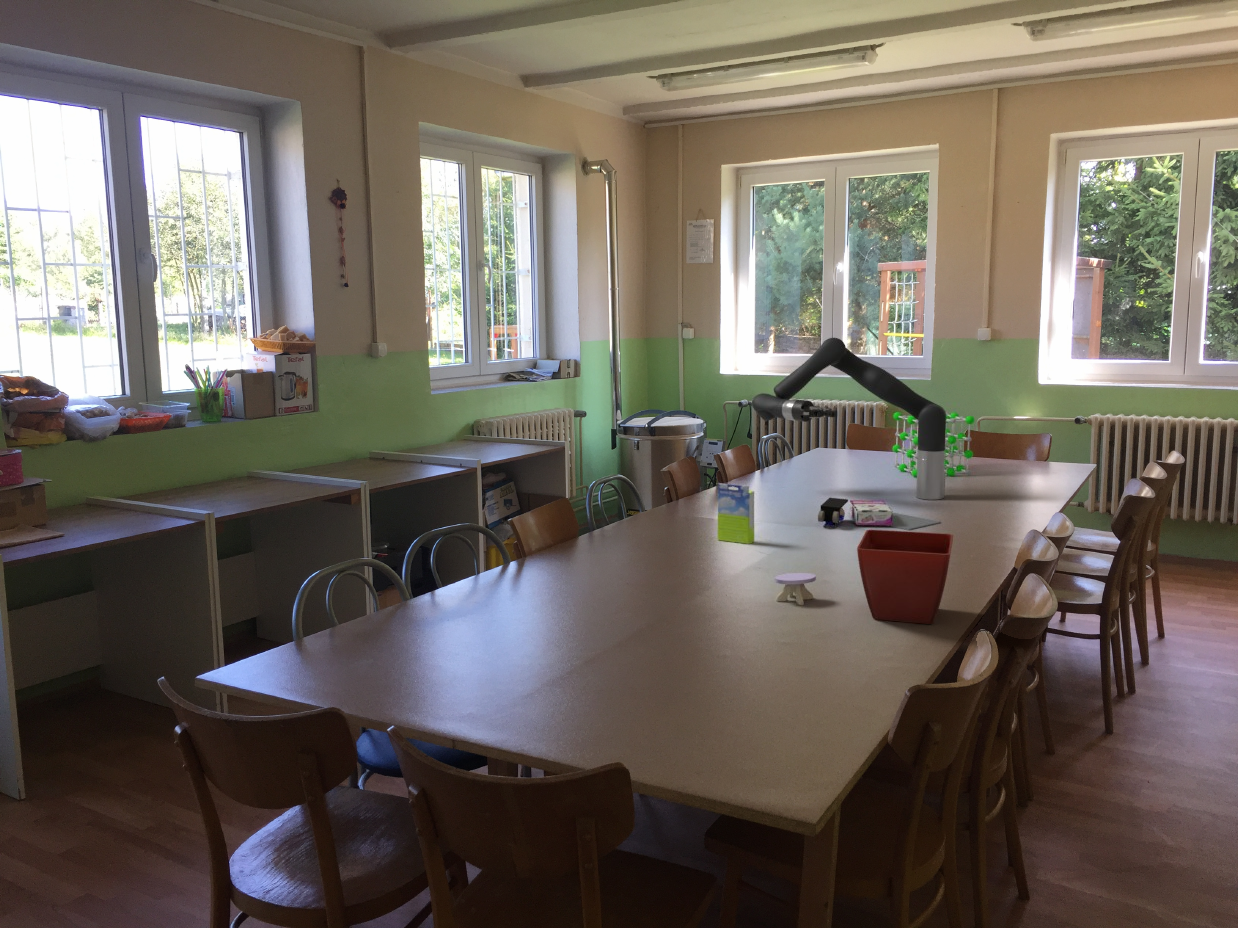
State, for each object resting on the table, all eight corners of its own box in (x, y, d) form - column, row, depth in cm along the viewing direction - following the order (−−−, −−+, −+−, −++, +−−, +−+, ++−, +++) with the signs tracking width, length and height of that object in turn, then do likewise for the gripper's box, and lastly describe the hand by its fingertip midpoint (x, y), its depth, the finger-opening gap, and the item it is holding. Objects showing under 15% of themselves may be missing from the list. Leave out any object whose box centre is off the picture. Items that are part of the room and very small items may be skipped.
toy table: (811, 594, 234) (812, 570, 233) (820, 605, 225) (820, 581, 224) (771, 594, 234) (771, 571, 233) (777, 606, 225) (778, 581, 224)
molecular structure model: (890, 468, 411) (892, 411, 408) (947, 466, 414) (949, 410, 410) (913, 478, 388) (915, 417, 384) (973, 476, 390) (976, 416, 386)
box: (755, 541, 286) (755, 483, 284) (749, 544, 283) (749, 486, 280) (722, 537, 292) (722, 481, 289) (716, 540, 288) (716, 483, 286)
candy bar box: (848, 514, 319) (855, 525, 303) (849, 499, 319) (856, 509, 302) (883, 515, 318) (892, 525, 302) (884, 500, 318) (893, 510, 301)
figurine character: (838, 534, 300) (849, 519, 313) (838, 510, 298) (849, 496, 311) (816, 532, 303) (828, 517, 316) (816, 509, 301) (827, 495, 314)
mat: (894, 513, 321) (894, 512, 321) (940, 522, 307) (940, 521, 307) (862, 520, 312) (862, 519, 312) (908, 530, 298) (908, 528, 298)
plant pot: (854, 622, 212) (856, 547, 209) (865, 598, 229) (867, 528, 227) (947, 631, 205) (950, 554, 202) (950, 605, 223) (953, 533, 220)
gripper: (784, 401, 339) (822, 404, 325) (811, 398, 346) (849, 401, 332) (784, 422, 340) (822, 426, 326) (810, 419, 347) (848, 423, 334)
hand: (835, 414), depth 329 cm, fingers closed
